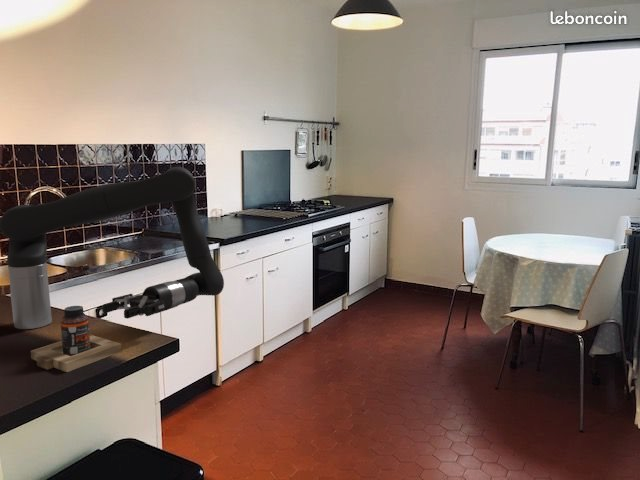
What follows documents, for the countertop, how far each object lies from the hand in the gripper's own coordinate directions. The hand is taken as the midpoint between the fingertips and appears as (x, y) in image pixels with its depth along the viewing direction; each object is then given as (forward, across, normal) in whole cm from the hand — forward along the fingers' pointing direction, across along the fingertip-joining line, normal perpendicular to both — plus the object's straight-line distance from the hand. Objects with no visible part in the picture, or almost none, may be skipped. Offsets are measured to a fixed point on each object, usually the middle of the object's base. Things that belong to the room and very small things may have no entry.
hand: (114, 311), depth 131 cm
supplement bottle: (+11, 0, +8) cm, 13 cm away
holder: (+11, 0, +8) cm, 13 cm away
